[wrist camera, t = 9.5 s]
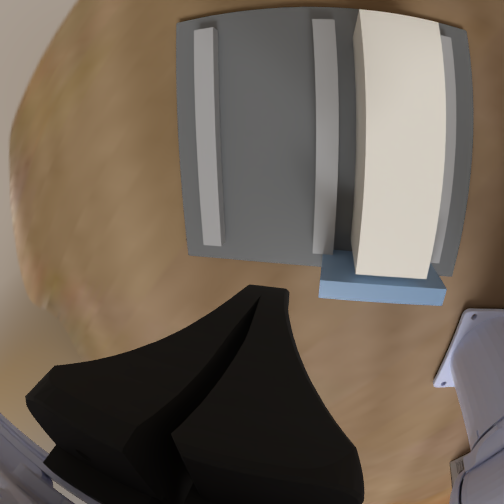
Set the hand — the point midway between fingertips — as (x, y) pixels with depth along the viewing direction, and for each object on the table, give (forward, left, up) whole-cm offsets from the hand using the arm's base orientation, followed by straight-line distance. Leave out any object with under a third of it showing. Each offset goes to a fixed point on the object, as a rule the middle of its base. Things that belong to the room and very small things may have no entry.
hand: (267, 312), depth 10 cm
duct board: (-2, -6, -9) cm, 11 cm away
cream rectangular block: (-5, -5, -9) cm, 12 cm away
